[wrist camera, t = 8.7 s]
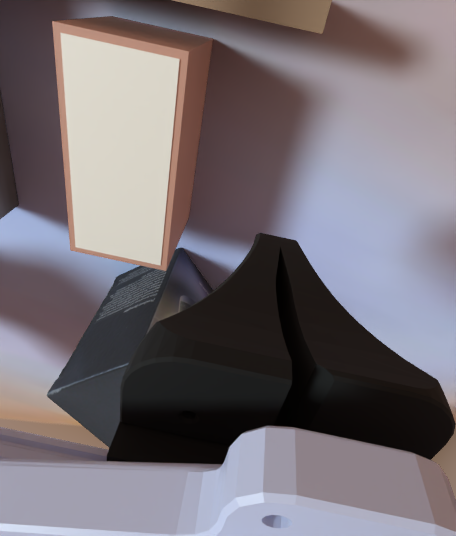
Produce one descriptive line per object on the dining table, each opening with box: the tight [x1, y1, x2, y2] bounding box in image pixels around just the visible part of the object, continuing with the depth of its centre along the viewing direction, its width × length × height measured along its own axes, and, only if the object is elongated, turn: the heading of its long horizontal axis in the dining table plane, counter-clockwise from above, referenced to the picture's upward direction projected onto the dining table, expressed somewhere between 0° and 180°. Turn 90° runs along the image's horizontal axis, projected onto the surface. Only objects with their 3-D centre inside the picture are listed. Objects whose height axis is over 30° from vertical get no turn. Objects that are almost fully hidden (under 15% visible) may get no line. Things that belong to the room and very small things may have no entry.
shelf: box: [0, 0, 332, 219], centre depth 19 cm, size 17×14×5 cm
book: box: [52, 16, 213, 271], centre depth 19 cm, size 5×10×6 cm, turn 170°
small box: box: [47, 248, 213, 448], centre depth 25 cm, size 11×6×10 cm, turn 30°
